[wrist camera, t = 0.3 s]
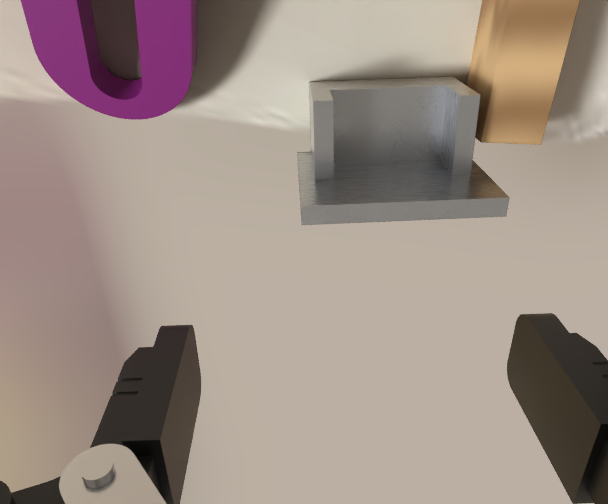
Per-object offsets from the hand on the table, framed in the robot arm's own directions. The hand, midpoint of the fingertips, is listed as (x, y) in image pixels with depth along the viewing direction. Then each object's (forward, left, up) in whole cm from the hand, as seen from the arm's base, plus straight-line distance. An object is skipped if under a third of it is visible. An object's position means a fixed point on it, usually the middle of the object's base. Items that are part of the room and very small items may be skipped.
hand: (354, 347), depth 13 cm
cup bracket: (+3, +5, -27) cm, 28 cm away
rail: (-6, +14, -28) cm, 31 cm away
